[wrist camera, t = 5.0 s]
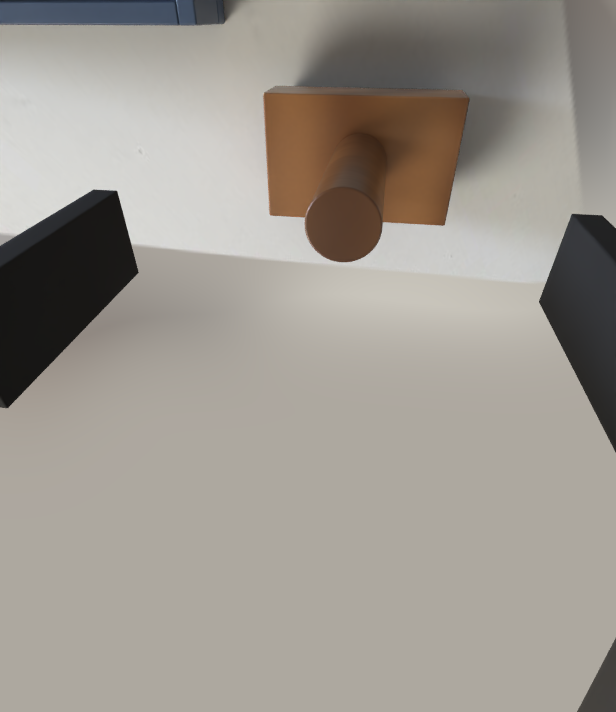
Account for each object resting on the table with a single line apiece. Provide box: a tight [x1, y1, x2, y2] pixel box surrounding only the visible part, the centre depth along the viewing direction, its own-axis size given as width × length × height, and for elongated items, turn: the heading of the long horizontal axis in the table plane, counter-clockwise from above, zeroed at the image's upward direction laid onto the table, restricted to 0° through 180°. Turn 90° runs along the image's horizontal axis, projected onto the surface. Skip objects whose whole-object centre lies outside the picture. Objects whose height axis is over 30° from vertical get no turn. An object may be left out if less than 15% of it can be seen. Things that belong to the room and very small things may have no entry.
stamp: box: [263, 86, 470, 262], centre depth 19 cm, size 9×6×12 cm, turn 90°
